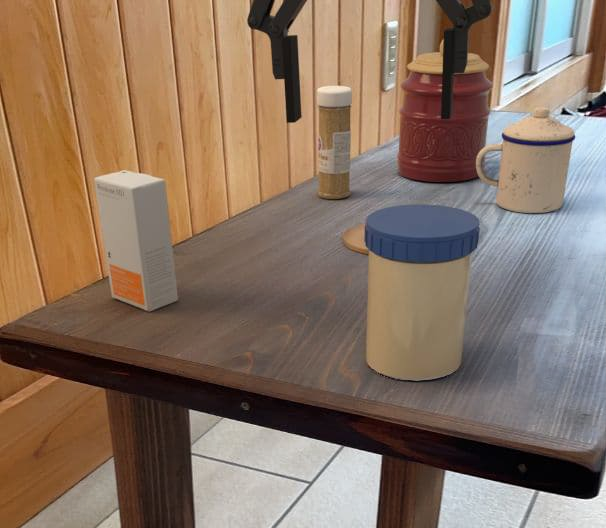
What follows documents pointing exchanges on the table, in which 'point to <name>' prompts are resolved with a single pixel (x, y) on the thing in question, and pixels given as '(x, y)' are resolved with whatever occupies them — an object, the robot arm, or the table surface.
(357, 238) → the coaster
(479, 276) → the table surface
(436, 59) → the kitchen canister
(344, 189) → the brown spice bottle
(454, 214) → the lid
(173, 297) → the cosmetic box
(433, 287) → the jar
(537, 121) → the teacup with lid
